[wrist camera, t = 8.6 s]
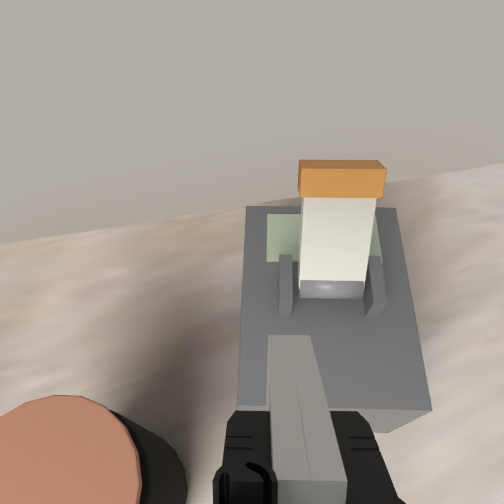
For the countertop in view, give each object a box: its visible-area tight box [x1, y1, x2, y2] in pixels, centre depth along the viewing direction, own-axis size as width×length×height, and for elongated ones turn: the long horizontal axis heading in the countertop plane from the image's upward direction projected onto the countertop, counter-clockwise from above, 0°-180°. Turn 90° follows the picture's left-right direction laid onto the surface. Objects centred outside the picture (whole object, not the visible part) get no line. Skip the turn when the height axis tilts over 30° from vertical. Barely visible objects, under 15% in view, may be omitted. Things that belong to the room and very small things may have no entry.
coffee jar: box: [0, 395, 187, 504], centre depth 30 cm, size 11×11×18 cm
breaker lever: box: [297, 160, 387, 299], centre depth 31 cm, size 6×2×11 cm
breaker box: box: [237, 206, 432, 433], centre depth 38 cm, size 14×18×15 cm
